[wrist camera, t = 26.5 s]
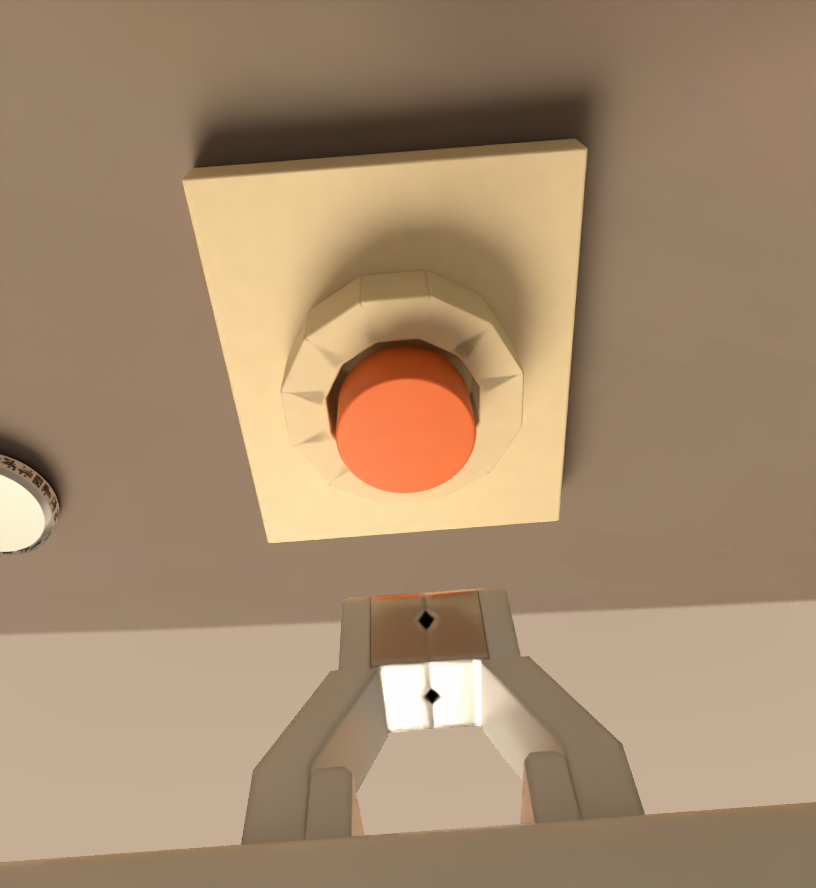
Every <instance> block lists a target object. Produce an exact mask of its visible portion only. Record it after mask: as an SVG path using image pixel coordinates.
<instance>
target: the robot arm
mask: <svg viewBox="0 0 816 888" xmlns="http://www.w3.org/2000/svg"><path fill="white" fill-rule="evenodd" d="M471 726H472V727H473V726H481V729H482V730H483V731H484V732H485V734H486V735H487V736H488V738H489V739H490V740H491V742H492V743H493V744H494V746H495V747H496V748H497V749H498V751H499V752H500V753H501V755H502V756H503V757H504V759H505V760H506V761H507V762H508V764H509V765H510V766H511V768H512V769H513V770H514V772H515V773H516V774H517V775H518V777H519V778H520V779H521V781H522V782H523V788H522V807H521V824H516V825H502V826H488V827H475V828H462V829H449V830H435V831H422V832H407V833H393V834H381V835H366V836H364V832H363V826H362V821H361V816H360V811H359V806H358V800H357V795H356V793H357V791H358V789H359V787H360V786H361V784H362V782H363V780H364V779H365V777H366V775H367V773H368V771H369V769H370V768H371V766H372V764H373V762H374V760H375V759H376V757H377V755H378V753H379V751H380V750H381V748H382V746H383V744H384V742H385V741H386V739H387V737H388V733H393V732H403V731H412V730H422V729H432V728H451V727H471ZM0 888H816V802H813V803H799V804H785V805H771V806H758V807H744V808H732V809H731V808H730V809H717V810H703V811H690V812H677V813H663V814H649V815H645V813H644V810H643V807H642V804H641V801H640V798H639V795H638V791H637V788H636V786H635V782H634V779H633V776H632V773H631V770H630V767H629V764H628V760H627V757H626V754H625V751H624V748H623V745H622V743H621V742H620V741H618V740H617V739H616V738H615V737H614V736H613V735H612V734H611V733H610V732H609V731H608V730H607V729H606V728H605V727H604V726H602V725H601V724H600V723H599V722H598V721H597V720H596V719H595V718H594V717H593V716H592V715H591V714H589V712H588V711H586V710H585V709H584V708H583V707H582V706H581V705H580V704H579V703H578V702H577V701H576V700H575V699H574V698H573V697H572V696H570V695H569V694H568V693H567V692H566V691H565V690H564V689H563V688H562V687H561V686H560V685H559V684H558V683H557V682H556V681H554V680H553V679H552V678H551V677H550V676H549V675H548V674H547V673H546V672H545V671H544V670H543V669H542V668H541V667H540V666H538V665H537V664H536V663H535V662H534V661H533V660H532V659H531V658H530V657H529V656H528V657H521V656H520V651H519V647H518V642H517V637H516V633H515V628H514V624H513V619H512V614H511V610H510V605H509V601H508V596H507V591H506V589H505V588H504V586H501V587H489V588H477V590H476V588H475V589H464V590H452V591H440V592H429V593H423V594H403V595H383V596H372V597H353V598H344V601H343V604H342V618H341V637H340V656H339V670H336V671H330V673H329V674H328V675H327V677H326V678H325V679H324V680H323V682H322V683H321V684H320V686H319V687H318V688H317V689H316V691H315V692H314V693H313V694H312V696H311V697H310V698H309V700H308V701H307V702H306V703H305V705H304V706H303V707H302V709H301V710H300V711H299V712H298V714H297V715H296V716H295V717H294V719H293V720H292V721H291V723H290V724H289V725H288V726H287V728H286V729H285V730H284V732H283V733H282V734H281V735H280V737H279V738H278V739H277V741H276V742H275V743H274V744H273V746H272V747H271V748H270V750H269V751H268V752H267V753H266V755H265V756H264V757H263V758H262V760H261V761H260V762H259V763H258V765H257V766H256V767H255V769H254V770H253V774H252V780H251V787H250V793H249V799H248V806H247V811H246V818H245V824H244V830H243V837H242V843H241V845H230V846H218V847H203V848H190V849H176V850H162V851H149V852H135V853H122V854H108V855H95V856H81V857H67V858H54V859H40V860H27V861H13V862H0Z"/></svg>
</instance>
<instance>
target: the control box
mask: <svg viewBox="0 0 816 888" xmlns="http://www.w3.org/2000/svg"><path fill="white" fill-rule="evenodd" d="M587 151H588V150H587V147H585V146H584V145H583V144H582V143H580V142H579V141H578V140H577V139H562V140H549V141H536V142H524V143H511V144H498V145H485V146H472V147H459V148H446V149H433V150H421V151H408V152H395V153H382V154H369V155H356V156H343V157H330V158H317V159H305V160H292V161H279V162H266V163H253V164H240V165H227V166H214V167H202V168H193V169H192V170H191V171H190V172H189V173H188V174H187V175H186V176H185V177H184V178H183V181H182V182H183V186H184V190H185V194H186V199H187V203H188V207H189V211H190V215H191V220H192V224H193V228H194V232H195V237H196V241H197V245H198V249H199V253H200V258H201V262H202V266H203V270H204V274H205V279H206V283H207V287H208V291H209V295H210V300H211V304H212V308H213V312H214V317H215V321H216V325H217V329H218V333H219V338H220V342H221V346H222V350H223V354H224V359H225V363H226V367H227V371H228V376H229V380H230V384H231V388H232V392H233V397H234V401H235V405H236V409H237V413H238V418H239V422H240V426H241V430H242V434H243V439H244V443H245V447H246V451H247V456H248V460H249V464H250V468H251V472H252V477H253V481H254V485H255V489H256V493H257V498H258V502H259V506H260V510H261V514H262V519H263V523H264V527H265V531H266V536H267V540H268V542H269V543H277V542H290V541H303V540H315V539H328V538H341V537H353V536H366V535H379V534H392V533H404V532H417V531H430V530H442V529H455V528H468V527H481V526H493V525H506V524H519V523H532V522H544V521H557V520H559V515H560V502H561V489H562V476H563V463H564V450H565V437H566V424H567V411H568V398H569V385H570V372H571V359H572V346H573V333H574V320H575V307H576V294H577V281H578V268H579V255H580V242H581V229H582V216H583V203H584V190H585V177H586V164H587ZM398 346H412V347H419V348H423V349H427V350H430V351H433V352H435V353H437V354H439V355H441V356H442V357H444V358H445V359H447V360H448V361H449V362H451V363H452V364H453V365H454V366H455V367H456V368H457V370H458V371H459V372H460V374H461V375H462V377H463V379H464V381H465V383H466V385H467V389H468V393H469V397H470V402H471V406H472V410H473V414H474V419H475V423H476V441H475V446H474V449H473V451H472V454H471V456H470V458H469V459H468V461H467V463H466V464H465V465H464V467H463V468H462V469H461V470H460V471H459V472H458V473H457V474H456V475H455V476H454V477H452V478H451V479H450V480H448V481H447V482H445V483H443V484H441V485H439V486H437V487H435V488H432V489H429V490H426V491H421V492H415V493H393V492H387V491H383V490H380V489H377V488H374V487H372V486H370V485H368V484H366V483H364V482H363V481H361V480H360V479H359V478H357V477H356V476H355V475H354V474H353V473H352V472H351V471H350V470H349V469H348V468H347V466H346V465H345V464H344V462H343V460H342V458H341V457H340V454H339V451H338V448H337V444H336V425H337V411H338V399H339V393H340V389H341V386H342V384H343V381H344V380H345V378H346V376H347V375H348V373H349V372H350V371H351V370H352V368H353V367H355V366H356V365H357V364H358V363H359V362H360V361H361V360H363V359H364V358H366V357H367V356H369V355H371V354H373V353H375V352H378V351H380V350H383V349H387V348H391V347H398Z"/></svg>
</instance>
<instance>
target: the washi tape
mask: <svg viewBox="0 0 816 888" xmlns="http://www.w3.org/2000/svg"><path fill="white" fill-rule="evenodd" d="M58 517H59V504H58V500H57V498H56V495H55V493H54V491H53V490H52V488H51V487H50V485H49V484H48V483H47V482H46V481H45V480H44V478H43V477H41V476H40V475H39V474H38V473H37V472H36V471H34V470H33V469H31V468H30V467H28V466H27V465H25V464H23V463H21V462H19V461H17V460H15V459H12V458H10V457H7V456H3V455H0V555H2V556H10V555H20V554H24V553H27V552H30V551H33V550H35V549H37V548H38V547H40V546H41V545H42V544H43V543H44V542H45V541H46V540H47V539H48V537H49V536H50V534H51V532H52V531H53V529H54V527H55V525H56V523H57V521H58Z"/></svg>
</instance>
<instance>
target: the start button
mask: <svg viewBox="0 0 816 888" xmlns="http://www.w3.org/2000/svg"><path fill="white" fill-rule="evenodd" d="M475 441H476V423H475V419H474V414H473V410H472V406H471V402H470V397H469V393H468V389H467V385H466V383H465V381H464V379H463V377H462V375H461V374H460V372H459V371H458V370H457V368H456V367H455V366H454V365H453V364H452V363H451V362H449V361H448V360H447V359H445V358H444V357H442V356H441V355H439V354H437V353H435V352H433V351H430V350H427V349H423V348H419V347H412V346H398V347H391V348H387V349H383V350H380V351H378V352H375V353H373V354H371V355H369V356H367V357H366V358H364V359H363V360H361V361H360V362H359V363H358V364H357V365H356V366H355V367H353V368H352V370H351V371H350V372H349V373H348V375H347V376H346V378H345V380H344V381H343V384H342V386H341V389H340V393H339V399H338V411H337V425H336V444H337V448H338V451H339V454H340V457H341V458H342V460H343V462H344V464H345V465H346V466H347V468H348V469H349V470H350V471H351V472H352V473H353V474H354V475H355V476H356V477H357V478H359V479H360V480H361V481H363V482H364V483H366V484H368V485H370V486H372V487H374V488H377V489H380V490H383V491H387V492H393V493H415V492H421V491H426V490H429V489H432V488H435V487H437V486H439V485H441V484H443V483H445V482H447V481H448V480H450V479H451V478H452V477H454V476H455V475H456V474H457V473H458V472H459V471H460V470H461V469H462V468H463V467H464V465H465V464H466V463H467V461H468V459H469V458H470V456H471V454H472V451H473V449H474V446H475Z"/></svg>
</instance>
